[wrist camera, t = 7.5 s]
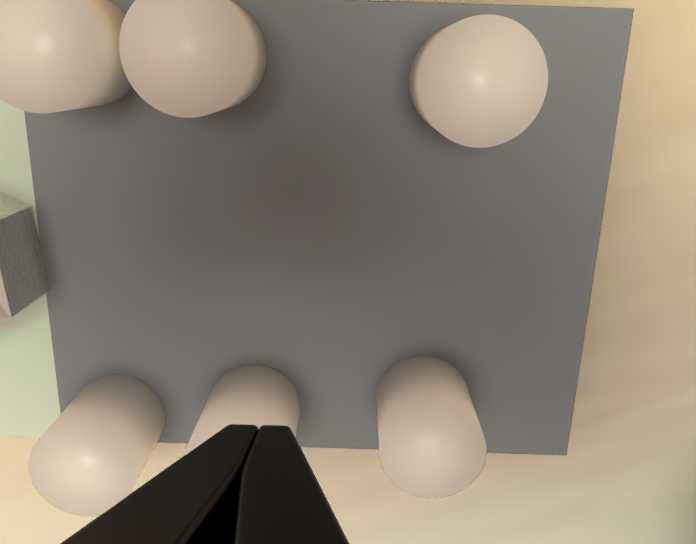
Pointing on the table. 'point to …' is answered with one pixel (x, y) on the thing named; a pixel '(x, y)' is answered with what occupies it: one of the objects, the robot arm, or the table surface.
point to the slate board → (321, 231)
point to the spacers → (212, 96)
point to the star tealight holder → (19, 258)
